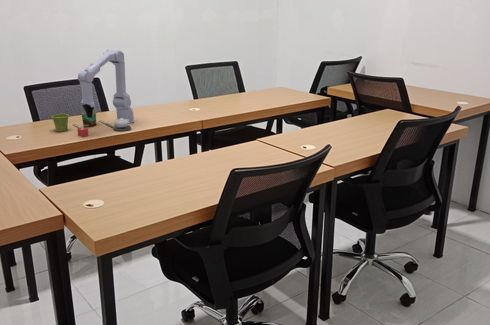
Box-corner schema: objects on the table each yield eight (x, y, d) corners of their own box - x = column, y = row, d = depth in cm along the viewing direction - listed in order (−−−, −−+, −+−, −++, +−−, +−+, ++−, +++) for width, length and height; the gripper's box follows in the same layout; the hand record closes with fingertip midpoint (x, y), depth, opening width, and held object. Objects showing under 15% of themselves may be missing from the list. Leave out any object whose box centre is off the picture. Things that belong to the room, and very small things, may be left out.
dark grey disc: (126, 126, 294) (126, 124, 293) (133, 129, 286) (133, 127, 286) (110, 128, 288) (110, 126, 288) (117, 132, 281) (117, 130, 280)
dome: (125, 122, 292) (124, 115, 290) (131, 125, 286) (130, 118, 284) (112, 124, 287) (112, 117, 286) (118, 127, 281) (117, 120, 280)
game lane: (101, 120, 306) (101, 119, 305) (114, 127, 291) (114, 126, 290) (72, 125, 295) (72, 124, 295) (84, 132, 280) (84, 131, 280)
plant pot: (65, 133, 279) (63, 118, 276) (49, 132, 281) (47, 117, 278) (73, 128, 288) (72, 114, 285) (58, 127, 289) (57, 113, 287)
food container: (92, 128, 288) (90, 111, 285) (82, 128, 289) (80, 111, 286) (102, 123, 300) (100, 107, 296) (92, 122, 301) (91, 106, 297)
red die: (84, 134, 277) (83, 126, 275) (88, 135, 274) (87, 128, 273) (78, 135, 274) (77, 128, 272) (82, 137, 271) (81, 129, 270)
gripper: (75, 91, 274) (78, 115, 279) (84, 96, 263) (87, 121, 268) (87, 90, 278) (90, 114, 283) (97, 94, 267) (99, 119, 272)
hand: (89, 117), depth 275 cm, fingers closed
